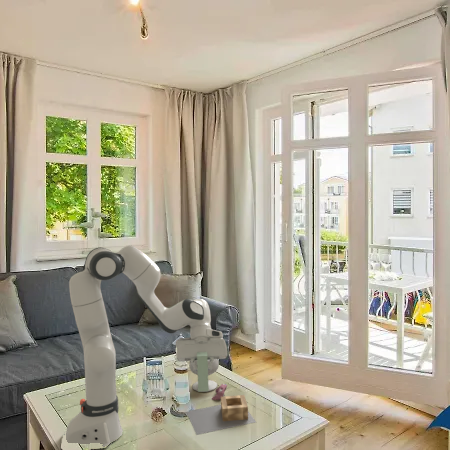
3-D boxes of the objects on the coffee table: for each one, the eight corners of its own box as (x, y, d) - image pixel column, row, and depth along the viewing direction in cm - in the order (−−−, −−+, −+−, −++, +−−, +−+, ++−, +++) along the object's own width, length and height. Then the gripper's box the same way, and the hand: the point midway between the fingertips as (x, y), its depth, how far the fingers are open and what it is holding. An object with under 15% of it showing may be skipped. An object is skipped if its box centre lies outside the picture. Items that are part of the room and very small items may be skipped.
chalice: (219, 393, 187) (218, 361, 186) (188, 394, 187) (187, 362, 187) (219, 379, 201) (218, 350, 200) (191, 380, 201) (190, 350, 201)
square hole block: (223, 421, 161) (222, 408, 160) (221, 408, 171) (220, 396, 170) (248, 419, 162) (247, 407, 161) (244, 406, 172) (244, 395, 171)
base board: (196, 438, 152) (196, 434, 152) (186, 414, 169) (186, 411, 169) (256, 425, 159) (256, 421, 159) (240, 404, 177) (240, 400, 176)
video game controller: (219, 407, 178) (226, 393, 177) (210, 401, 179) (216, 388, 178) (223, 396, 188) (230, 383, 187) (215, 391, 188) (221, 378, 187)
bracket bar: (198, 391, 157) (197, 356, 156) (198, 387, 161) (196, 352, 160) (208, 391, 157) (207, 355, 157) (208, 386, 161) (207, 351, 161)
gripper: (175, 334, 164) (175, 368, 155) (225, 332, 166) (228, 365, 157) (176, 341, 169) (176, 374, 160) (225, 339, 171) (228, 371, 161)
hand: (202, 370), depth 158 cm, fingers closed on bracket bar, 4 cm apart
